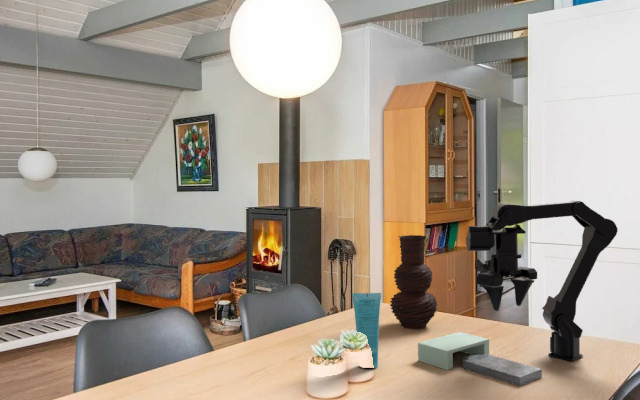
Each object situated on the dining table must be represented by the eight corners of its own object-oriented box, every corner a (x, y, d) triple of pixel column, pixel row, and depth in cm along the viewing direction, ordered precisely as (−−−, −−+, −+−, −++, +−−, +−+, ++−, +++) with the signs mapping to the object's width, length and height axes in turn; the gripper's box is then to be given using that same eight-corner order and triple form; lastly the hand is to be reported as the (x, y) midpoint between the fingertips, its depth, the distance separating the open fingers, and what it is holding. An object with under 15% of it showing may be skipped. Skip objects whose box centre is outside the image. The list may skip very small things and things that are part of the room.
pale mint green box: (489, 356, 152) (489, 339, 152) (447, 370, 142) (447, 351, 142) (459, 348, 160) (459, 331, 160) (418, 360, 150) (418, 342, 150)
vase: (382, 323, 191) (381, 235, 190) (423, 319, 196) (422, 233, 195) (402, 334, 177) (401, 239, 176) (446, 329, 181) (444, 237, 180)
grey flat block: (541, 378, 136) (541, 369, 135) (519, 386, 130) (519, 377, 130) (479, 360, 150) (479, 351, 150) (457, 367, 145) (457, 358, 144)
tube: (380, 363, 149) (379, 290, 148) (384, 369, 144) (382, 294, 143) (352, 364, 148) (351, 291, 147) (355, 370, 143) (354, 295, 143)
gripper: (504, 245, 163) (505, 299, 164) (459, 251, 153) (460, 308, 153) (538, 248, 154) (539, 305, 154) (492, 254, 144) (493, 315, 144)
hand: (507, 308), depth 152 cm, fingers open, 9 cm apart
